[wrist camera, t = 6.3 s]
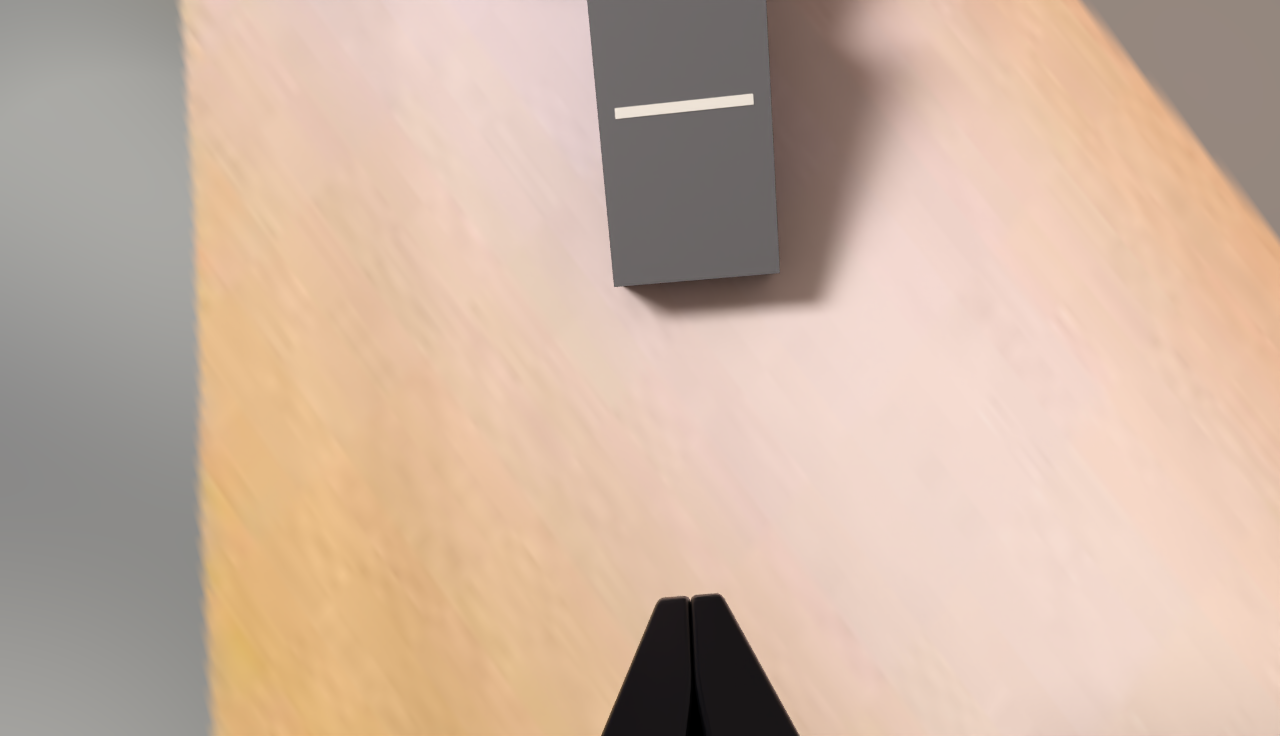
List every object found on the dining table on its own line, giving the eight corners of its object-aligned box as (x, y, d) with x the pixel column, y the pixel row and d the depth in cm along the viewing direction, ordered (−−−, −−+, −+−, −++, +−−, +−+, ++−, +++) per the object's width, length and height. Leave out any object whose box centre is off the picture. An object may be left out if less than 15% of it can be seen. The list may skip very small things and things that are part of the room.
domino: (779, 272, 20) (761, -96, 18) (613, 286, 21) (580, -73, 19) (773, 270, 22) (755, -69, 20) (619, 283, 22) (588, -48, 20)
